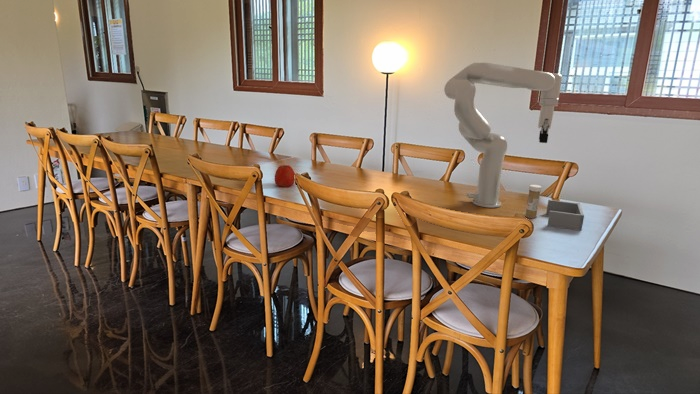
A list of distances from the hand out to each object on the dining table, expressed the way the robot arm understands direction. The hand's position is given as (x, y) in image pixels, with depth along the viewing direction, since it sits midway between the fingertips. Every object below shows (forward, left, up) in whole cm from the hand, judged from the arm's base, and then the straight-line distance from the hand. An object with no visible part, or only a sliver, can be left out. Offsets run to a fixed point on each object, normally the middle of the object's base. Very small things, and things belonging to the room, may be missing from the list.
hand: (542, 141), depth 199 cm
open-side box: (+11, -26, -28) cm, 40 cm away
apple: (-116, -29, -29) cm, 123 cm away
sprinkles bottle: (-1, -26, -28) cm, 39 cm away
